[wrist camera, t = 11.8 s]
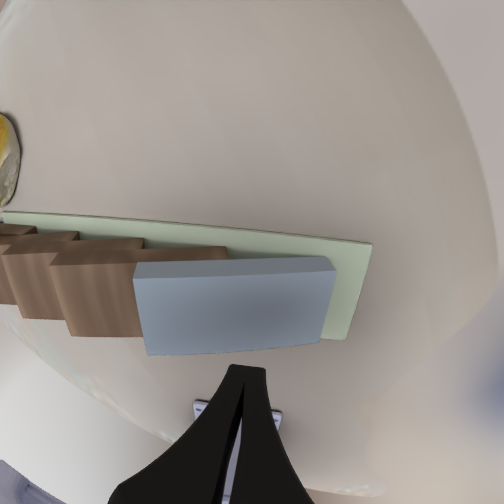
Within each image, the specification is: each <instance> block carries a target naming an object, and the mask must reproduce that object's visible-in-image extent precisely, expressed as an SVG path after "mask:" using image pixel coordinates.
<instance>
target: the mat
mask: <svg viewBox="0 0 504 504" xmlns="http://www.w3.org/2000/svg"><path fill="white" fill-rule="evenodd" d="M2 216H3V221H4V223H9V224H20V225H31V226H36V227H37V232H38V234H42V233H57V232H72V231H79V235H80V240H100V239H122V238H144V243H145V249H158V248H186V247H214V246H226V249H227V252H228V255H229V258H230V260H234V259H264V258H293V257H320V256H325V257H326V258H327V259H328V260H329V262H330V263H331V264H332V265H333V266H334V267H335V269H336V270H337V273H336V278H335V282H334V286H333V290H332V295H331V299H330V303H329V307H328V311H327V314H326V318H325V322H324V326H323V329H322V333H321V337H320V338H322V339H337V340H345V339H346V336H347V333H348V330H349V327H350V324H351V321H352V318H353V315H354V312H355V308H356V305H357V302H358V299H359V295H360V292H361V288H362V285H363V281H364V278H365V274H366V270H367V267H368V263H369V259H370V255H371V251H372V247H373V245H372V243H364V242H356V241H347V240H339V239H331V238H322V237H313V236H304V235H295V234H286V233H277V232H267V231H258V230H248V229H238V228H227V227H217V226H206V225H195V224H184V223H173V222H161V221H149V220H136V219H123V218H110V217H95V216H81V215H65V214H48V213H30V212H10V211H3V212H2Z"/></svg>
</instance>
